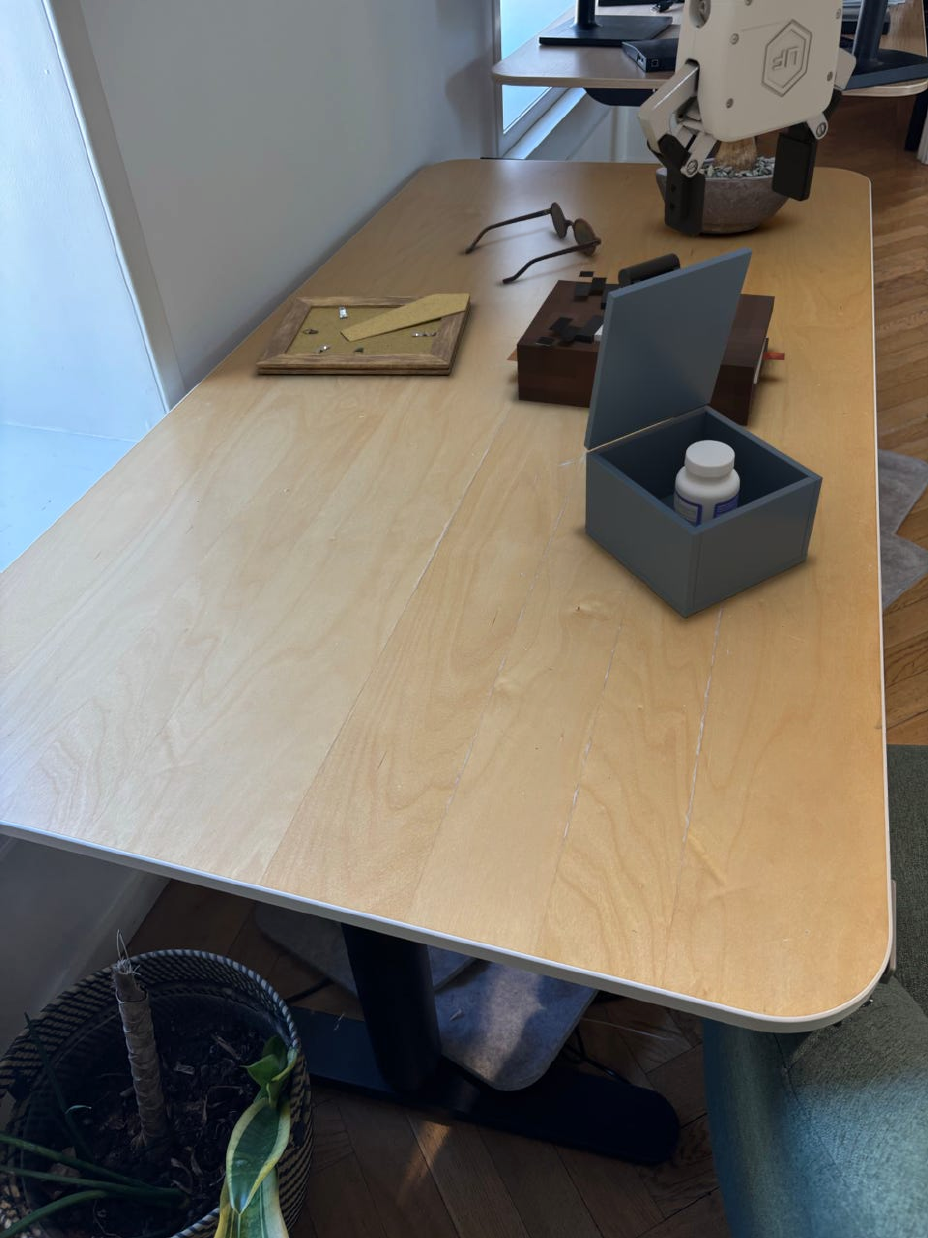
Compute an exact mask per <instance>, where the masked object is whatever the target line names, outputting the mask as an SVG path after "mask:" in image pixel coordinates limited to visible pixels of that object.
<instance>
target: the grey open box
mask: <svg viewBox="0 0 928 1238" xmlns="http://www.w3.org/2000/svg"><path fill="white" fill-rule="evenodd" d="M706 440H711V441H718V442H722V443H724V444H726V445H728V446H730V447H731V448H732V450H733V451H734V455H735V457H734V467H733V469H734V470H735V471H736V472H737V474H738V476H739V479H740V487H739V495H738V503H737V509H735V510H732V511H730V512H728V513H726V514H723V515H721V516H719V517H717V518H714V519H712V520H710V521H708V522H705V523H703V524H701V525H699V526H696V527H694V526H693V525H691V524H690V523H689V522H687V521H686V520H685V519H683V518H682V517H681V516H679V515H678V514H677V513H675V512H674V511H673V505H674V492H675V481H676V476H677V474H678V472H679V471H680V470H681V469H682V468H683V467H684V466H685V457H686V451H687V449H688V448H689V447H690V446H691V445H692V444H694V443H696V442H700V441H706ZM823 479H824V478H823V476H821V475H820V474H818V473H816V472H814V471H813V470H812V469H810V468H808V467H807V466H806V465H803V463H800V462H799V461H797V460H796V459H794V458H792V457H791V456H789V455H788V454H786V453H785V452H783V451H781V450H779V449H778V448H776V447H775V446H773V445H772V444H770V443H768V442H766V441H765V440H763V439H762V438H760V437H759V436H757V435H755V434H754V433H752V432H751V431H749V430H748V429H746V428H744V427H743V426H742V425H739V424H736V423H735V422H733V421H731V420H730V419H728V418H727V417H725V416H723V415H722V414H720V413H719V412H717V411H715V410H714V409H712V408H711V407H709V406H707V405H706V406H704V407H701V408H698V409H696V410H693V411H691V412H688V413H686V414H683V415H680V416H678V417H672V418H670V419H667V420H665V421H662V422H660V423H657V424H655V425H652V426H650V427H647V428H644V429H642V430H639V431H637V432H634V433H632V434H629V435H627V436H624V437H622V438H619V439H617V440H614V441H611V442H609V443H606V444H604V445H601V446H599V447H596V448H594V449H591V450H589V451H587V452H586V453H585V508H584V509H585V511H584V512H585V513H584V514H585V515H584V517H585V518H584V521H585V522H584V524H585V525H584V533H585V534H586V535H588V537H590V538H591V539H592V540H593V541H594V542H595V543H596V544H598V546H601V548H602V549H604V551H606V552H607V553H608V554H610V555H611V556H612V557H613V558H614V559H615V560H616V561H618V562H619V563H620V564H621V565H622V566H623V567H625V568H626V569H627V570H628V571H629V572H631V573H632V574H633V576H635V577H636V578H637V579H639V580H640V581H641V582H642V583H643V584H644V585H646V586H647V587H648V589H650V590H651V591H652V592H654V593H655V594H656V595H657V596H659V598H660V599H662V600H663V601H664V602H665V603H667V604H668V605H669V606H670V607H671V608H672V609H673V610H675V611H676V612H677V613H678V614H679V615H681V616H682V617H683V619H686V618H688V617H691V616H693V615H695V614H698V613H699V612H701V611H703V610H705V609H707V608H710V607H712V606H713V605H715V604H717V603H719V602H722V601H724V600H727V599H728V598H730V597H732V596H734V595H737V594H739V593H741V592H743V591H745V590H747V589H749V588H751V587H753V586H755V585H758V584H759V583H761V582H763V581H766V580H767V579H770V578H772V577H774V576H775V575H779V574H781V573H783V572H784V571H786V570H789V569H790V568H793V567H795V566H797V565H799V564H801V563H803V562H805V561H807V559H808V553H809V547H810V542H811V539H812V538H811V537H812V532H813V529H814V523H815V520H816V519H815V518H816V514H817V508H818V504H819V499H820V494H821V489H822V484H823Z"/></svg>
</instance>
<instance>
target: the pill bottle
mask: <svg viewBox="0 0 928 1238" xmlns="http://www.w3.org/2000/svg"><path fill="white" fill-rule="evenodd" d="M734 457H735V455H734V451H733V450H732V448H731V447H730V446H728V445H726V444H724V443H722V442H718V441H711V440H706V441H700V442H696V443H694V444H692V445H691V446H690V447H689V448H688V449H687V451H686V457H685V466H684V467H683V468H682V469H681V470H680V471H679V472H678V474H677V476H676V481H675V492H674V505H673V511H674V512H675V513H677V514H678V515H679V516H681V517H682V518H683V519H685V520H686V521H687V522H689V523H690V524H691V525H693V526H694V527H696V526H699V525H701V524H703V523H705V522H708V521H710V520H712V519H714V518H717V517H719V516H721V515H723V514H726V513H728V512H730V511H732V510H735V509H737V503H738V495H739V487H740V479H739V476H738V474H737V472H736V471H735V470H734V469H733V467H734Z"/></svg>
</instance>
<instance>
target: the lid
mask: <svg viewBox="0 0 928 1238" xmlns="http://www.w3.org/2000/svg"><path fill="white" fill-rule="evenodd" d="M753 251H754V250H752V249H751V248H749V247H748V246H743V247H741V248H738V249H735V250H733V251H729V252H726V253H723V254H721V255H717V256H713V257H711V258H708V259H705V260H702V261H699V262H695V263H692V264H689V265H687V266H684V267H681V262H680V259H679V256H678V255H677V254H676V253H673V252H670V253H666V254H663V255H660V256H657V257H654V258H651V259H648V260H645V261H642V262H640V263H639V262H638V263H636V264H633V265H630V266H627V267H623V268H621V269H620V270H618V274H617V282H618V284H619V285H620V287H621V289H618V290H615V291H612V292H609V293H608V298H607V304H606V310H605V316H604V323H603V329H602V335H601V341H600V347H599V353H598V359H597V366H596V372H595V378H594V384H593V390H592V396H591V403H590V407H589V409H588V414H587V415H588V416H587V421H586V428H585V429H586V430H585V435H584V440H583V447H584V448H585V449H586V450H587V451H592V450H594V449H597V448H599V447H602V446H604V445H607V444H609V443H612V442H614V441H617V440H620V439H622V438H625V437H627V436H630V435H632V434H635V433H637V432H640V431H642V430H645V429H647V428H650V427H653V426H655V425H658V424H660V423H663V422H665V421H668V420H670V419H673V418H675V416H678V415H680V414H683V413H685V412H688V411H690V410H693V409H695V408H698V407H700V406H703V405H706V404H708V403H710V401H711V397H712V394H713V390H714V386H715V383H716V379H717V376H718V372H719V369H720V365H721V362H722V358H723V355H724V351H725V348H726V344H727V341H728V337H729V333H730V330H731V326H732V323H733V319H734V316H735V312H736V309H737V305H738V302H739V298H740V295H741V294H742V290H743V288H744V284H745V280H746V277H747V273H748V270H749V267H750V263H751V259H752V255H753V253H754V252H753Z"/></svg>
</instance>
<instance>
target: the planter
mask: <svg viewBox="0 0 928 1238" xmlns="http://www.w3.org/2000/svg"><path fill="white" fill-rule="evenodd" d="M755 139H756V138H755V136H752V137H749V138H745V139H741V140H737V141H732V142H724V141H721V143H720V146H719V149H718V152H717V153H716V155H715V157H712V158H706V159H705V161H704V162H703V164H702V166H701V167H700V169H699V171H698V172H699V173H702V174H704V175H705V178H706V183H705V194H704V206H703V217H702V229H701V231H700V233H701V234H709V235H726V234H727V235H728V234H735V233H743V232H747V231H752V230H754V229H756V228H758V227H759V225H761V223H762V222H764V221H766V220H768V219H770V218H773V216H775V215H776V214H777V213H778V212H779V211H780V210H781V209H782V207H784V205H785V204H786V203H787V201H788V200H789V199H790V198H789V197H786V196H783V195H781V194H778V193H776V192H774V191H773V190H772V188H771V186H772V178H773V171H774V163H775V156H774V157H770V158H765V156H761V157H758V151H757V145H756V140H755ZM654 174H655V175H654V176H655V181H656V184H657V187H658V190H659V193H660V195H661V197H662V200H663V203H665V194H666V178H667V168H665V167H662V166H661V167H660V168H658V169H656V171H654ZM700 233H699V234H700Z"/></svg>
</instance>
